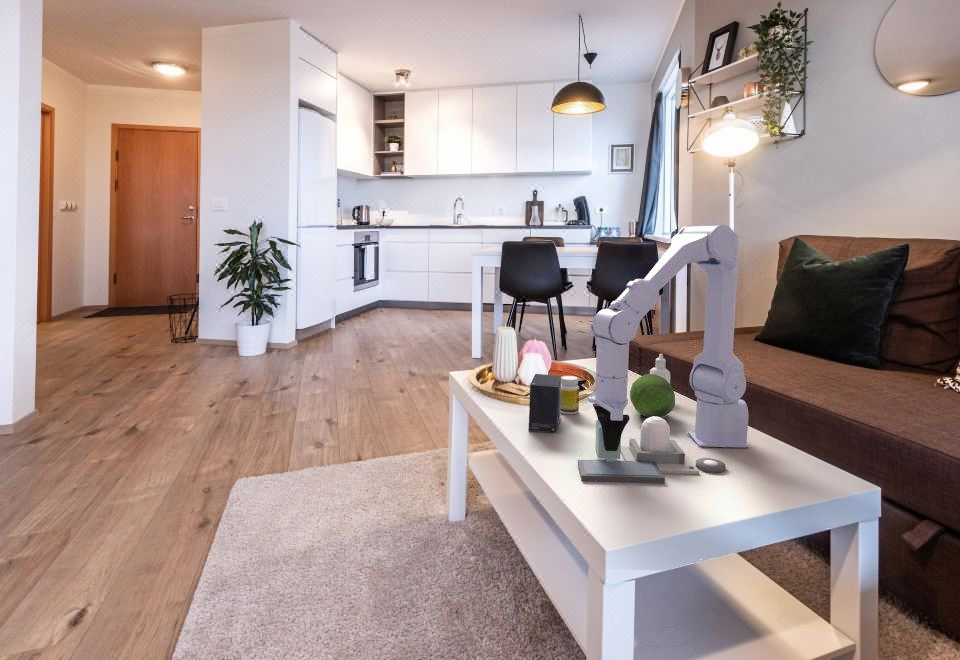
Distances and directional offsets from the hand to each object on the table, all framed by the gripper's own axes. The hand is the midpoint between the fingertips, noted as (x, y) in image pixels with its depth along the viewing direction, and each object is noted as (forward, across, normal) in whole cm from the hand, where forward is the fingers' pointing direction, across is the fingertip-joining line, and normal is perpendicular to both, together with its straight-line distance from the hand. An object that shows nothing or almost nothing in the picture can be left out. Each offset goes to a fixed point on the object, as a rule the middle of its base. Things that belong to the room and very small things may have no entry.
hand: (609, 445), depth 106 cm
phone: (+3, +6, +1) cm, 7 cm away
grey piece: (+3, -1, +9) cm, 9 cm away
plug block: (+2, 0, 0) cm, 2 cm away
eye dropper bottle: (+3, -42, +19) cm, 46 cm away
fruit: (+3, -29, +14) cm, 32 cm away
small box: (+3, -20, -11) cm, 23 cm away
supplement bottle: (+3, -30, -5) cm, 31 cm away
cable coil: (+3, +2, +18) cm, 18 cm away
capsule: (+3, -2, +9) cm, 10 cm away
